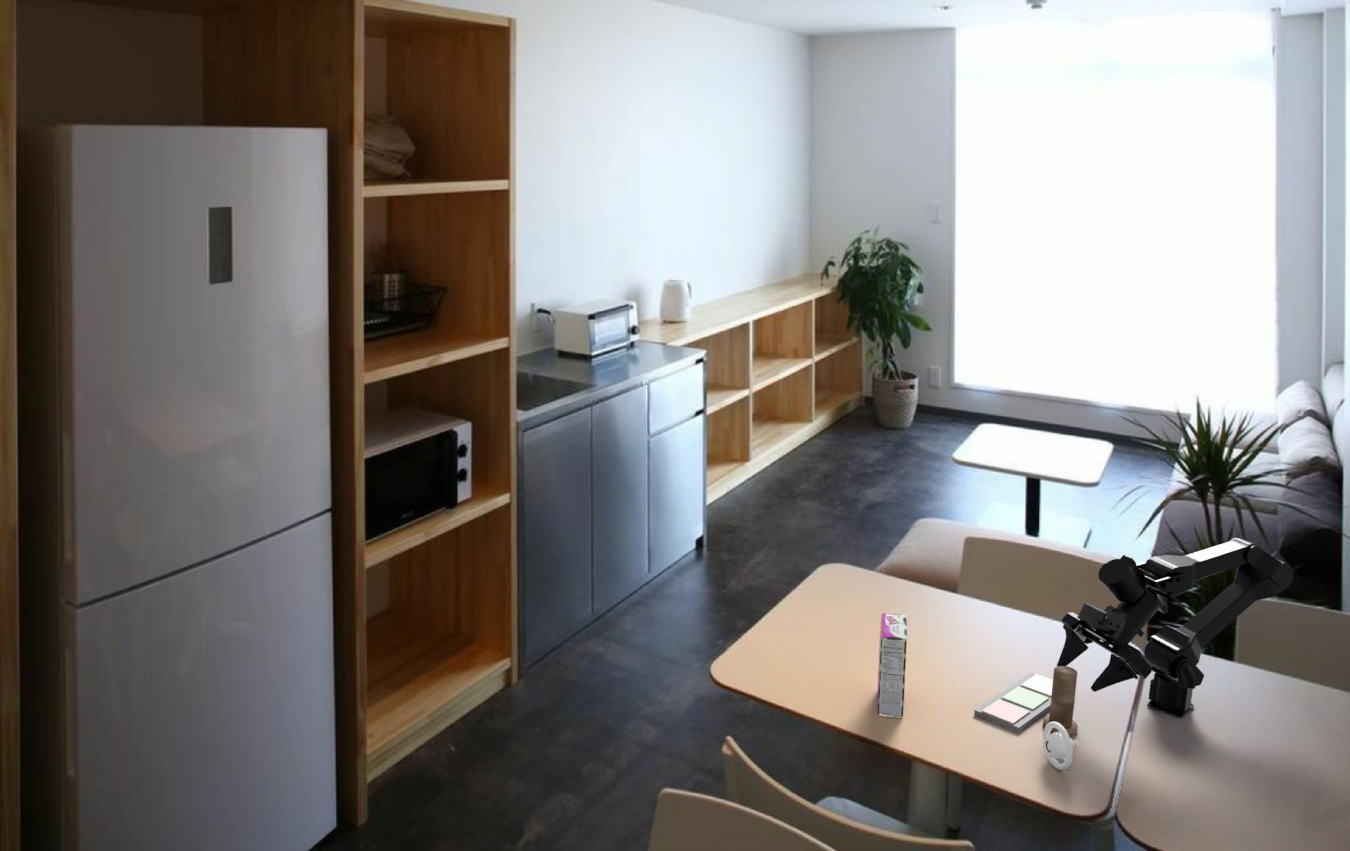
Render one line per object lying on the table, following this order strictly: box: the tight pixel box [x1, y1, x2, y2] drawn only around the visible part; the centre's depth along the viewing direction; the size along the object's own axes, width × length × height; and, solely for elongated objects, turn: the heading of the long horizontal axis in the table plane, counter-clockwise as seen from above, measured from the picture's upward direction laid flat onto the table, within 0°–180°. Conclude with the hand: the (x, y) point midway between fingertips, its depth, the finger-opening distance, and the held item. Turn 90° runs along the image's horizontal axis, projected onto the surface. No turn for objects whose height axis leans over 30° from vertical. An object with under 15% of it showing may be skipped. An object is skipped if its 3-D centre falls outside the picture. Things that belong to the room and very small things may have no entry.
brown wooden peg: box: [1042, 665, 1079, 738], centre depth 191 cm, size 6×6×12 cm
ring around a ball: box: [1042, 721, 1079, 771], centre depth 179 cm, size 8×6×8 cm
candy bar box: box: [877, 612, 908, 718], centre depth 199 cm, size 11×5×16 cm, turn 168°
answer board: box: [973, 672, 1053, 733], centre depth 201 cm, size 9×22×1 cm, turn 135°
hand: (1075, 678), depth 191 cm, fingers open, 9 cm apart
